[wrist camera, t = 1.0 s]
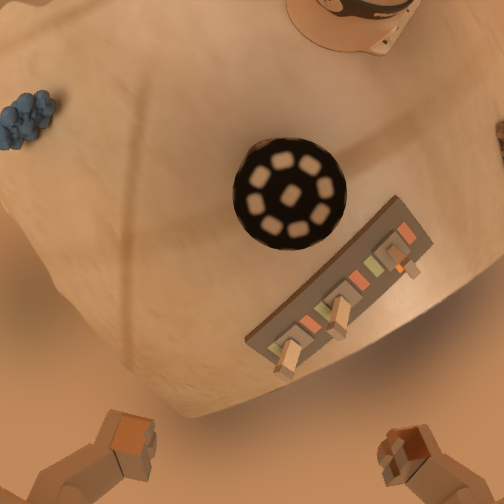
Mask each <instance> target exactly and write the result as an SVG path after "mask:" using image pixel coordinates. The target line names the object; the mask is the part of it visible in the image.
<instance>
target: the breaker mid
mask: <svg viewBox="0 0 504 504" xmlns="http://www.w3.org/2000/svg"><path fill="white" fill-rule="evenodd" d="M350 308H351V305H350V304H349V303H348V302H347V301H346V300H345V299H344V298H343V297H342V296H339V297H337V298H335V300H334V304H333V308H332V313H331V317H330V321H329V324H328V325H327V328H326V331H327V332H328V333H329V334H330V335H331V336H332V337H334V338H335V339H336V340H337V341H339V340H342V339H345V338H346V333H347V331H346V328H347V323H348V318H349V313H350Z"/></svg>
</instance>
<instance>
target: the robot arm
mask: <svg viewBox="0 0 504 504" xmlns="http://www.w3.org/2000/svg"><path fill="white" fill-rule="evenodd" d="M421 1H422V0H286V5H287V11H288V14H289V16H290V18H291V20H292V22H293V23H294V25H295V26H296V28H297V29H298V30H299V31H300V32H301V33H302V34H303V35H304V36H306V37H307V38H308V39H310V40H311V41H313V42H314V43H316V44H318V45H320V46H323V47H325V48H328V49H331V50H335V51H342V52H355V51H365V52H368V53H371V54H374V55H378V56H384V55H386V54H387V53H388V52H389V50H390V49H391V47H392V46H393V44H394V43H395V41H396V40H397V38H398V37H399V35H400V34H401V32H402V30H403V29H404V27H405V26H406V24H407V23H408V21H409V20H410V18H411V17H412V15H413V13H414V12H415V10H416V9H417V7H418V6H419V4H420V3H421ZM382 41H385V42H386V44H384V43H383V42H382ZM154 428H155V422H154V420H153V419H149V418H145V417H140V416H136V415H132V414H128V413H124V412H120V411H116V410H112V409H111V410H109V411H108V413H107V415H106V417H105V419H104V421H103V424H102V426H101V428H100V430H99V433H98V435H97V437H96V440H95V442H94V444H90V443H89V444H88V445H86V446H84V447H83V448H81V449H79V450H77V451H76V452H74V453H72V454H71V455H69V456H67V457H65V458H64V459H62V460H60V461H58V462H57V463H55V464H53V465H51V466H49V467H48V468H46V469H44V470H42V471H40V472H39V475H38V476H37V479H36V481H35V483H34V485H33V487H32V489H31V491H30V494H29V496H28V498H27V500H24V499H22V498H20V497H18V496H16V495H15V494H13V493H11V492H9V491H7V490H6V489H4V488H2V487H0V504H93V503H94V502H96V501H97V500H98V499H99V498H101V497H102V496H103V495H104V494H106V493H107V492H108V491H109V490H111V488H113V487H114V486H115V485H116V484H118V483H119V482H120V481H121V480H123V479H124V477H126V478H130V479H134V480H139V481H144V482H148V480H149V476H150V472H151V468H152V467H151V462H150V460H151V459H152V458H154V456H155V452H156V446H157V436H156V432H154ZM386 436H387V439H385V440H384V441H383V442H381V444H380V445H379V447H378V452H377V459H378V462H379V465H381V466H382V467H383V468H384V470H383V472H382V475H383V478H384V481H385V484H386V486H387V487H388V486H394V485H400V484H405V485H406V486H407V487H408V488H409V489H410V490H411V491H412V492H413V493H414V494H416V495H417V496H418V497H419V498H420V499H421V500H422V501H423V502H424V503H425V504H504V498H502V499H500V500H498V501H496V502H495V500H494V498H493V496H492V494H491V492H490V490H489V487H488V485H487V483H486V481H485V479H483V478H482V477H480V476H479V475H477V474H476V473H474V472H472V471H471V470H469V469H468V468H466V467H465V466H463V465H462V464H460V463H459V462H457V461H455V460H454V459H453V458H451V457H450V456H448V455H447V454H442V452H441V450H440V448H439V446H438V444H437V442H436V440H435V438H434V436H433V434H432V432H431V430H430V428H429V426H428V425H426V424H423V425H417V426H408V427H402V428H394V429H391V430H390V431H388V433H387V434H386Z"/></svg>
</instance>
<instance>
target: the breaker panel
mask: <svg viewBox="0 0 504 504" xmlns="http://www.w3.org/2000/svg"><path fill="white" fill-rule="evenodd" d="M392 245H393V246H395V247H396V248H397V249H398V250H399V251H400V252H402V253H403V254H404V255H405V256H406V257H407V256H408V257H409V258H410V259H411V260H412V261H413V263H415V262H416V261H417V260H418V259H419V258H420V257H421V256H422V255H423V254H424V253H425V252H426V251H427V250H428V249H429V248H430V247H431V246H432V245H433V242H432V241H431V239H430V238H429V237H428V235H427V234H426V232H425V231H424V230H423V228H422V227H421V225H420V224H419V223H418V221H417V220H416V219H415V217H414V216H413V215H412V213H411V212H410V211H409V210H408V208H407V207H406V206H405V204H404V203H403V202H402V201H401V199H400V198H399V197H397V196H394V197H393V198H392V199H391V200H390V201H389V202H388V203H387V204H386V205H385V206H384V207H383V208H382V209H381V210H380V211H379V212H378V213H377V214H376V215H375V216H374V217H373V218H372V219H371V220H370V221H369V222H368V223H367V224H366V225H365V226H364V227H363V228H362V229H361V230H360V231H359V232H358V233H357V234H356V235H355V236H354V237H353V238H352V239H351V240H350V241H349V242H348V243H347V244H346V245H345V246H344V247H343V248H342V249H341V250H340V251H339V252H338V253H337V254H336V255H335V256H334V257H333V258H332V259H331V260H330V261H329V262H328V263H326V264H325V265H324V266H323V267H322V268H321V269H320V270H319V271H318V272H317V273H316V274H315V275H314V276H313V277H312V278H311V279H310V280H308V281H307V282H306V283H305V284H304V285H303V286H302V287H301V288H300V289H299V290H298V291H297V292H296V293H294V294H293V295H292V296H291V297H290V298H289V299H288V300H287V301H286V302H285V303H283V304H282V305H281V306H280V307H279V308H278V309H277V310H276V311H275V312H273V313H272V314H271V315H270V316H269V317H268V318H267V319H266V320H265V321H263V322H262V323H261V324H260V325H259V326H258V327H257V328H255V329H254V330H253V331H252V332H251V333H250V334H249V335H247V336H246V337H245V343H246V344H247V345H249V346H250V347H251V348H253V349H254V350H256V351H257V352H258V353H260V354H261V355H263V356H264V357H265V358H267V359H268V360H270V361H271V362H273V363H274V364H275V365H277V364H278V362H279V359H280V356H281V353H282V351H283V348H284V345H285V342H286V341H287V340H290V339H292V340H293V341H294V342H296V343H297V344H298V345H299V346H301V347H302V348H301V351H300V355H299V358H298V361H297V364H296V367H298V366H299V365H300V364H302V363H303V362H304V361H305V360H307V359H308V358H309V357H311V356H312V355H313V354H314V353H316V352H317V351H318V350H319V349H321V348H322V347H323V346H324V345H325V344H327V343H328V342H329V341H330V340H332V339H333V338H334V337H332V336H331V335H330V334H329V333H328V332H327V331H326V328H327V325H328V324H329V321H330V317H331V313H332V308H333V304H334V300H335V298H337V297H339V296H342V297H343V298H344V299H345V300H346V301H347V302H348V303H349V304H350V305H351V308H350V313H349V318H348V323H347V326H348V325H349V324H350V323H352V322H353V321H354V320H355V319H356V318H357V317H358V316H360V315H361V314H362V313H363V312H364V311H365V310H366V309H367V308H368V307H370V306H371V305H372V304H373V303H374V302H375V301H376V300H377V299H378V298H379V297H380V296H382V295H383V294H384V293H385V292H386V291H387V290H388V289H389V288H390V287H391V286H392V285H393V284H394V283H395V282H396V281H397V280H398V279H399V278H400V277H401V276H402V275H403V274H404V273H405V272H406V271H405V270H404V269H403V268H402V267H401V266H400V265H399V264H398V263H397V262H396V261H395V260H394V259H393V257H392V256H391V255H390V254H389V253H388V252H387V250H388V249H389V248H390V247H391V246H392ZM296 367H295V368H296Z"/></svg>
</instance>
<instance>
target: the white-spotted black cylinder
mask: <svg viewBox="0 0 504 504" xmlns="http://www.w3.org/2000/svg"><path fill="white" fill-rule="evenodd" d="M346 199H347V188H346V181H345V178H344V175H343V172H342V170H341V168H340V166H339V164H338V163H337V161H336V160H335V159H334V158H333V157H332V155H331V154H330V153H328V152H327V151H326V150H325V149H324V148H322V147H321V146H319V145H317V144H315V143H313V142H311V141H307V140H304V139H300V138H277V139H268V140H264V141H261V142H259V143H257V144H255V145H254V146H253V147H252V148H251V149H250V150H249V151H248V152H247V154H246V156H245V158H244V160H243V162H242V164H241V166H240V168H239V170H238V172H237V174H236V177H235V181H234V185H233V204H234V210H235V212H236V215H237V217H238V220H239V221H240V223H241V225H242V226H243V228H244V229H245V230H246V231H247V232H248V233H249V234H250V235H251V236H252V237H253V238H254V239H256V240H257V241H258V242H260V243H261V244H264V245H266V246H268V247H270V248H274V249H279V250H289V251H293V250H300V249H305V248H307V247H310V246H313V245H315V244H317V243H319V242H320V241H322V240H323V239H325V238H326V237H327V236H328V235H329V234H331V232H332V231H333V230H334V229H335V227H336V226H337V225H338V223H339V221H340V219H341V218H342V216H343V213H344V209H345V206H346Z"/></svg>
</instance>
